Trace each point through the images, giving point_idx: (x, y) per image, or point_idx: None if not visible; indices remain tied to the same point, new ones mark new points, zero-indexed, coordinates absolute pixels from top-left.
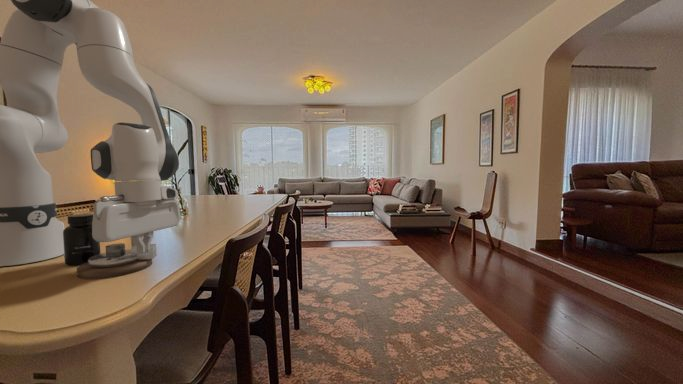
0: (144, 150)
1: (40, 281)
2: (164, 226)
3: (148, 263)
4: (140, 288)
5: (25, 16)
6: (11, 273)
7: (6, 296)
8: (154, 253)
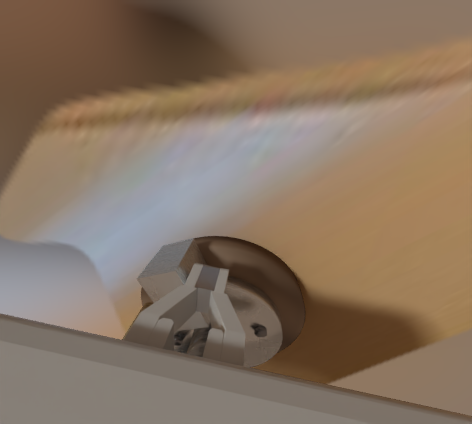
0: None
1: (298, 366)
2: (10, 336)
3: (203, 242)
4: (422, 133)
5: None
6: None
7: (370, 366)
8: (174, 250)
